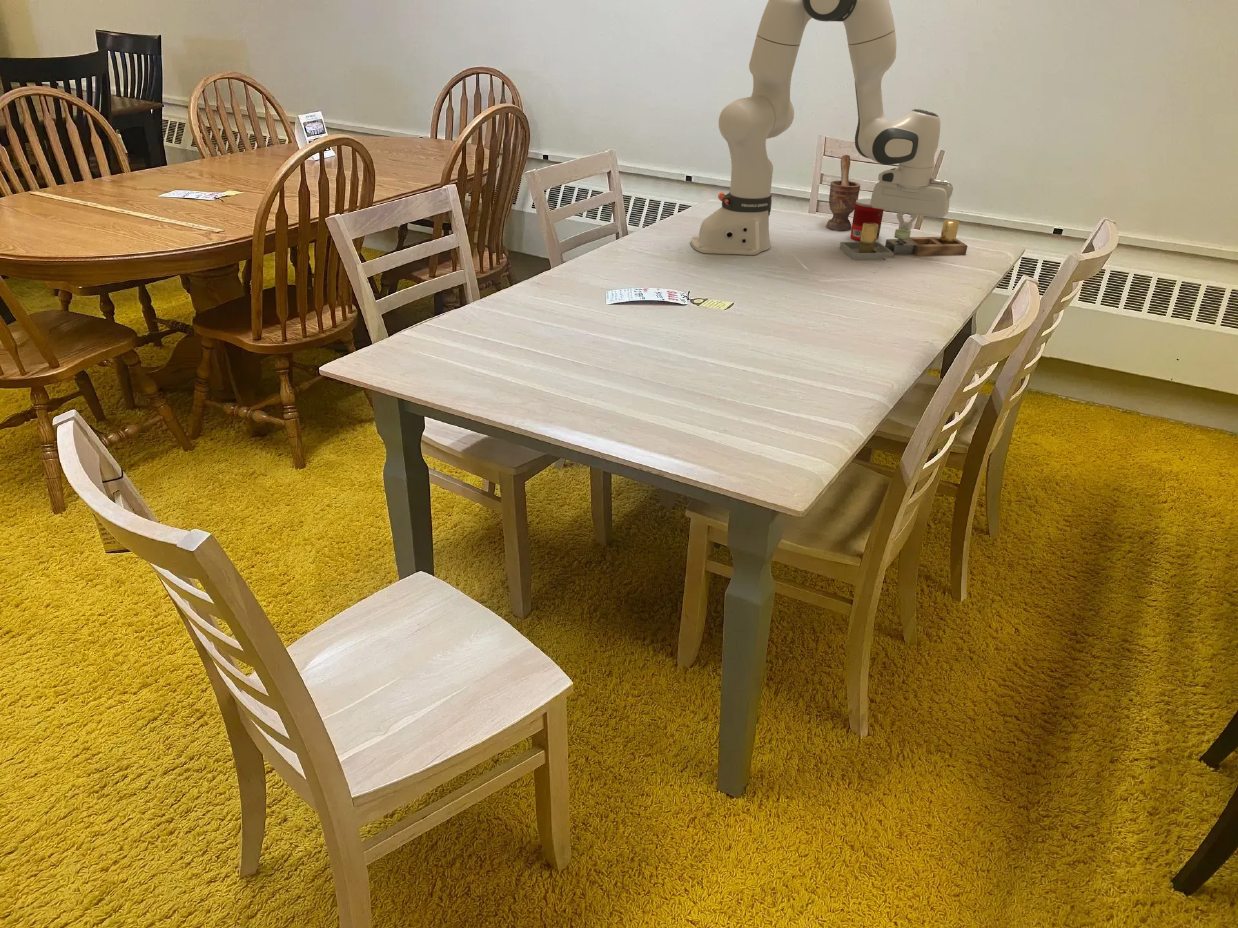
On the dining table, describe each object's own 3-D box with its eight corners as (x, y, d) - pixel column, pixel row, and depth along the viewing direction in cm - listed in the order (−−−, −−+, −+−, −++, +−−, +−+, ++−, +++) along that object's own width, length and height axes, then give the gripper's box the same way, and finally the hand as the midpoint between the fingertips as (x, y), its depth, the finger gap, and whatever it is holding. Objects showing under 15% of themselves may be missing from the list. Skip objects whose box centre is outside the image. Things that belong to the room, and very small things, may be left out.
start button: (895, 250, 227) (899, 233, 224) (890, 246, 230) (893, 229, 228) (909, 250, 227) (913, 232, 225) (903, 246, 231) (907, 228, 228)
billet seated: (941, 252, 228) (947, 223, 224) (935, 248, 232) (941, 219, 228) (955, 252, 229) (962, 223, 225) (948, 248, 232) (955, 219, 228)
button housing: (892, 258, 227) (894, 245, 225) (884, 251, 232) (886, 239, 230) (913, 257, 227) (916, 245, 226) (904, 251, 232) (907, 239, 231)
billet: (861, 256, 226) (866, 226, 222) (856, 251, 230) (860, 222, 226) (875, 255, 227) (880, 226, 223) (870, 251, 230) (875, 222, 226)
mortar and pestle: (815, 222, 258) (824, 154, 247) (840, 220, 260) (850, 153, 249) (832, 232, 248) (842, 162, 238) (858, 230, 250) (870, 161, 240)
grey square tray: (853, 262, 223) (854, 254, 222) (839, 250, 233) (840, 242, 232) (892, 261, 224) (894, 253, 223) (877, 249, 234) (878, 241, 233)
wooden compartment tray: (915, 259, 226) (918, 246, 224) (902, 249, 234) (904, 237, 232) (964, 258, 227) (967, 245, 226) (949, 248, 235) (952, 236, 233)
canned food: (878, 245, 238) (885, 205, 232) (850, 243, 239) (856, 204, 233) (877, 237, 244) (883, 199, 238) (849, 235, 245) (855, 197, 240)
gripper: (958, 179, 215) (947, 233, 222) (881, 169, 226) (873, 221, 233) (950, 183, 211) (939, 238, 218) (872, 173, 221) (864, 226, 228)
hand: (904, 229), depth 225 cm, fingers closed
